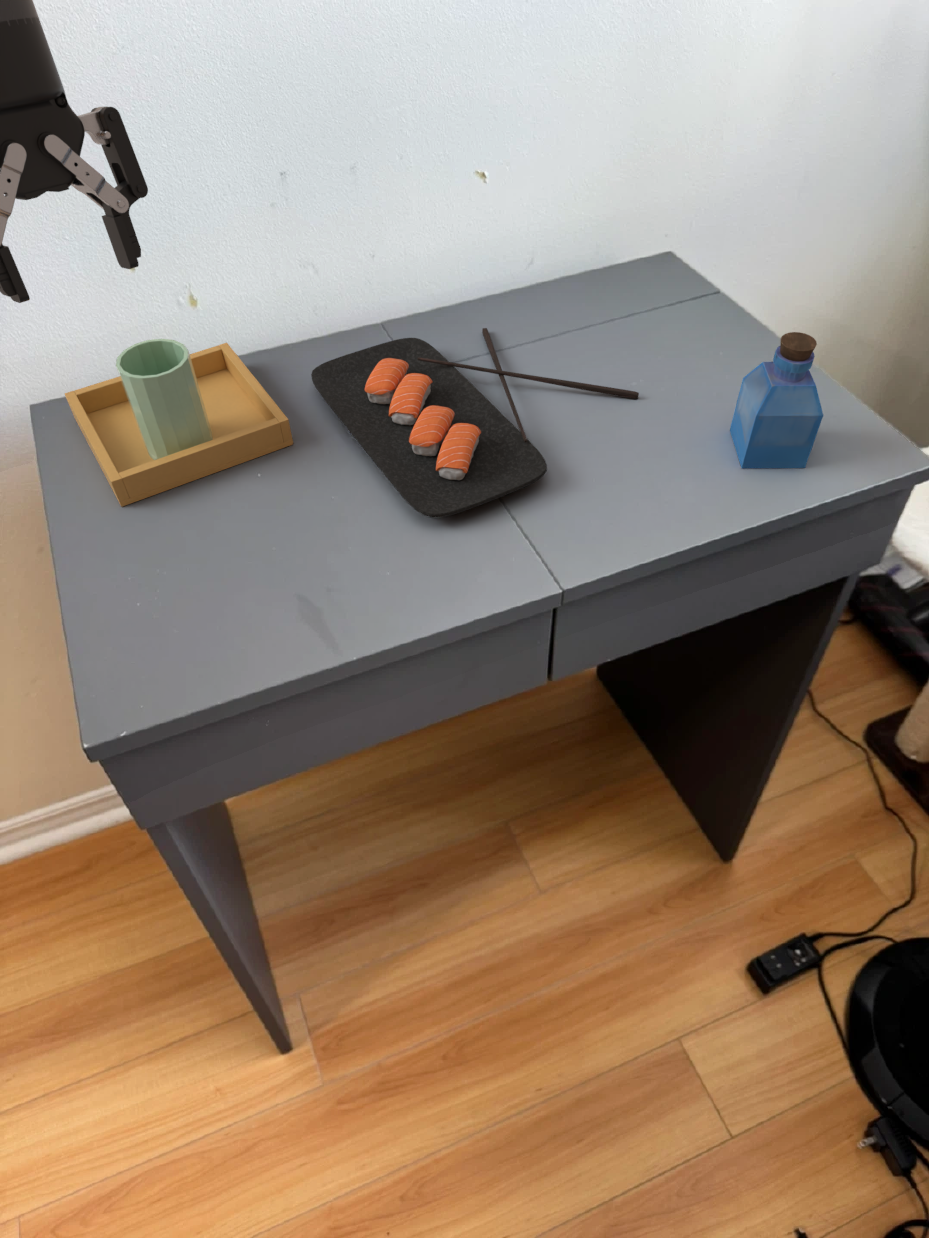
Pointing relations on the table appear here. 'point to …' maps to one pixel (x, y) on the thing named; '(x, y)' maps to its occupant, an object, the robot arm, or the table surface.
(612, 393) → the sushi plate
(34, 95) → the robot arm
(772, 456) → the perfume bottle
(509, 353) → the table surface
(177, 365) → the teacup
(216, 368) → the tray
